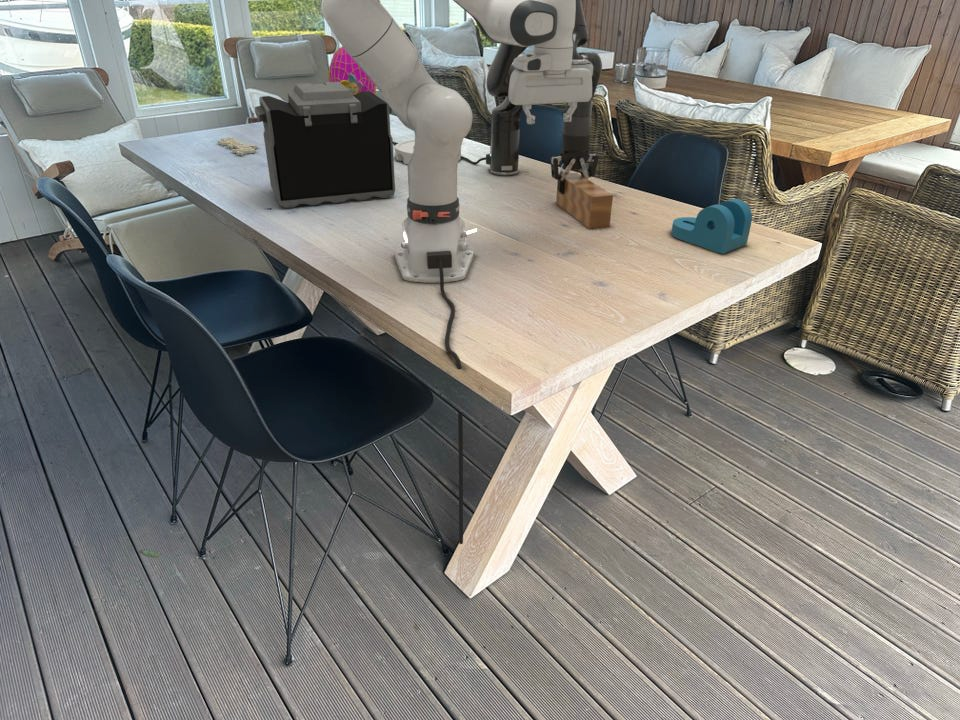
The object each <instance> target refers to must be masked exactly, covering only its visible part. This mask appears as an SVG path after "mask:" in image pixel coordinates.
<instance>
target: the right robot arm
mask: <svg viewBox="0 0 960 720" xmlns="http://www.w3.org/2000/svg"><path fill="white" fill-rule="evenodd" d="M572 41H573V55H572V60H583V59H587V60H588V61H590V62H591V63H592V65H593V75H592V97H591V99H590V100H589V101H588V102H577V108H576V109H575V111H574V113H573V114H572V119H571V122H564V121H563V124H562V125H563V126H562V140H561V153H560V155H559V156H551V157H550V173H551V177H552V178H553V179H554V180H557V181H558V188H557V187H556V191H557V190H558V191H559V193H560V194H564V188H565V181H564V180H565V178H566V176H567V174H569V173H571V171H574V170H578V171H579V174H580V175H581V176H583V177H585V178H586V179H588V180H589V178H592V177H595V176H596V171H597V167H598V163H599V158H600V157H599V155H598V154H596V153H589V151H590V144H591V143H590V142H591V132H592V111H593V110H592V109H593V100H594V96H595V93H596V91H597V87H598V85H599V83H600V79H601V76H602V72H603V62H602V58H601V57H600V55H599V54H598V53H597V52H595V51H586V52H578V48H580V47H582V46H584V45H585V44H586V43H587V42H588V41H589V31H588V26H587V22H586V17H585V13H584V8H583V3H582V0H576V13H575V26H574V29H573V33H572ZM526 49H528V47H521V46H515V45H510V44H501V43H499V47H498V48H497V51H496V54H495V56H494V57H493V59H492V62H491V64H490V67H489V69H488V72H487V74H486V81H485V82H486V83H485V84H486V91H487V93H488V94H489V95H490V96H491V97H495V98H505V99H504V100H503V101H502V102H501V103H500V104H499V105H497V106H495V107H493V108H492V110H491V125H490V127H491V129H490V130H491V131H490V144H489V145H490V146H489V148H490V149H489V150H490V151H489V153H486V154H485V157H481V158H478V159H477V160H476V161H472V160H471V159H470V158H467V157H465V156H462V155H461V159H460V160H465V161H466V162H468V163H470V164H471V165H478V164H479V163H481V162H483V161H485V164H486V165H489V172H490V174H493V175H496V176H505V177H507V176H509V177H510V176H515V175H517V174H519V161H520V160H519V159H520V136H521V135H520V134H521V133H520V132H521V114H522V110H523V105H514V104H512V103H511V102H510V100H509V98H508V92H509V82H510V77H511V74H512V72H513V71H514V70H515V69H517V68H515V67H514V65H513V61H514V59H515V58H517V57H519V56H521V54H522V53H524V52H525V50H526ZM588 64H589V63H588ZM579 65H582V64H579ZM569 107H570V106H568V103H565V110H564V111H565V112H564V113H567V111H568V109H569ZM398 143H399V142H396V141H393V145H396V144H398ZM588 161H589V163H588V166H587V165H586V164H587V162H588ZM560 162H561V163H562V164H561V166H560V168H559V165H560ZM587 167H588V168H587Z"/></svg>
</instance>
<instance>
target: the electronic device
mask: <svg viewBox="0 0 960 720" xmlns="http://www.w3.org/2000/svg"><path fill="white" fill-rule="evenodd" d="M287 99H288V102H287V101H284V100H282V99H279V98H276V97H273V96H271V95H263V96H259V97H258V100H259V105H258V106H254V113H255V116H256V118H257V119H258V121H259V122H261V123H262V125H263V129H264V131H263V134H262V135H263V140H264V142H263V143H264V148H265V155H266V162H267V168H268V175H269V181H270V186H271V189H272V191H273V193H274V196H275V197H276V200H277V203H278V205H279V207H281V208H285V209H289V208H290V209H291V208H296V207H298V206H299V205H308V206H319V205H320V204H322V203H328V202H329V203H332V204H339V203H345V202H346V201H348V200H356V201H360V202H361V201H367V200H369V199H370V198H375V197H376V198H378V199H387V198H391V197H392V196H394V195H395V193H396V192H395V191H396V180H395V162H394V144H393V142H394V140H393V136H392V134H391V121H390V120H391V115H390V114H392V113H393V110H392V109H391V107H390V106H389V105H388V103H387V102H386V100H383V98H380V97H379V96H377V94H376V95H375V94H373V93H372V92H370V91H362V92H360V93H358V94H356V95H354V96H353V95H352V94H351V92H350V90H349V89H347V88H346V87H345V86H343V85H342V84H341V83H340V82H329V81H324V83H311V82H304V83H295V84H294V87H293V90H290V91H289V92H287Z"/></svg>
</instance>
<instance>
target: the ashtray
mask: <svg viewBox="0 0 960 720" xmlns="http://www.w3.org/2000/svg"><path fill="white" fill-rule="evenodd" d="M397 143H398V144H395V146H394V150H395V151H394V152H395V153H394V154H395V160H396V161H397V162H403V164H404V165H408V163H409V161H410V160H411V158H412V155H413V150H414V145H415V138H414V139H408V140H404V141H399V142H397ZM461 156H462V148H461V149H460V153H459V158H458V162H459V161H460V160H462V159H461Z"/></svg>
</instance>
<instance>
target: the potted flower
mask: <svg viewBox="0 0 960 720" xmlns="http://www.w3.org/2000/svg"><path fill="white" fill-rule="evenodd" d="M348 78H349V81H346V80H342V81H341V82H340V83H341V84H342V85H343V86H345V87H346V88H347V89H349V90H350V92H351V94H352V95H353V96H354V95H356V94H358V93H360V92H361V91H360V90H361V89H363V84H362V82H361V81H358V82H357V83H356V78H355V76H354V75H352V74H350V73H348Z"/></svg>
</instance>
